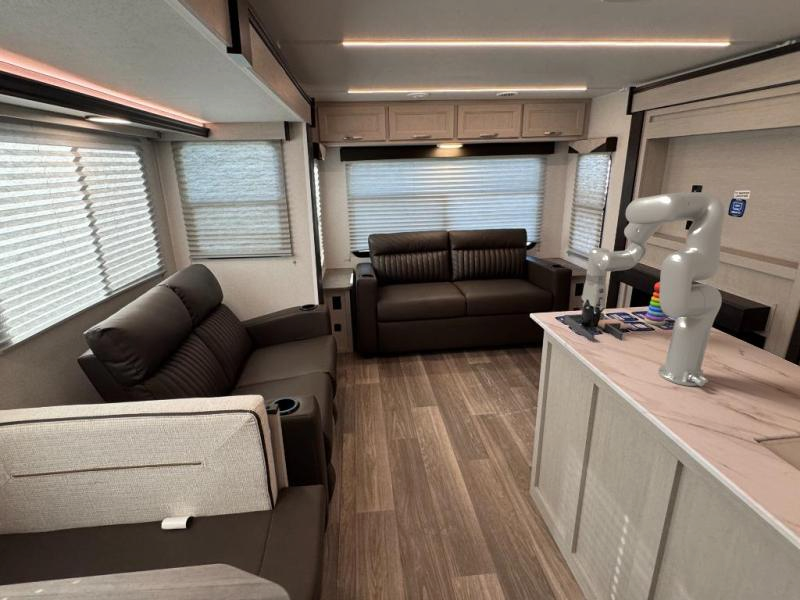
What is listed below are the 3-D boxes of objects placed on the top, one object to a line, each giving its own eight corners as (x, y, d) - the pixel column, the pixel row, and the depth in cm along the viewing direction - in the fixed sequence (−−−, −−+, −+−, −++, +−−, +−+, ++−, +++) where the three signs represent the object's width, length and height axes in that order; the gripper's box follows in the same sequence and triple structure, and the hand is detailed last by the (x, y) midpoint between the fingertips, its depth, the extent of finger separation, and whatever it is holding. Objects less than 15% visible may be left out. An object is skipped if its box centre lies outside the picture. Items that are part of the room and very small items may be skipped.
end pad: (630, 328, 173) (630, 327, 173) (604, 329, 172) (604, 328, 172) (616, 319, 183) (616, 318, 183) (591, 321, 182) (591, 320, 181)
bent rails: (634, 339, 162) (635, 332, 161) (591, 341, 160) (592, 335, 160) (601, 319, 184) (602, 313, 183) (563, 321, 182) (563, 315, 181)
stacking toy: (668, 326, 175) (677, 284, 169) (650, 326, 175) (658, 284, 169) (658, 319, 182) (666, 279, 176) (640, 319, 182) (647, 279, 177)
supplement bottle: (593, 322, 176) (597, 296, 172) (601, 328, 170) (605, 301, 166) (577, 323, 176) (581, 296, 172) (585, 329, 169) (588, 301, 166)
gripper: (617, 283, 158) (610, 325, 164) (592, 272, 175) (587, 311, 180) (599, 284, 158) (593, 327, 163) (576, 273, 174) (571, 312, 180)
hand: (590, 318), depth 172 cm, fingers closed on supplement bottle, 6 cm apart
